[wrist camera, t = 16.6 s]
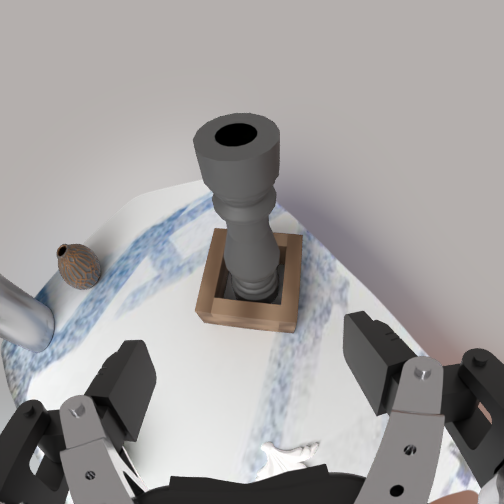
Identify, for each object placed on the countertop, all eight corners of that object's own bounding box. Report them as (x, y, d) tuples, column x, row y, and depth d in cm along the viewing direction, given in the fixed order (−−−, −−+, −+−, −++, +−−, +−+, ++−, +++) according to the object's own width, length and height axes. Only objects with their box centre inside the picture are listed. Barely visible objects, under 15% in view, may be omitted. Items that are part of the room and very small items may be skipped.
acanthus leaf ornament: (316, 442, 27) (319, 444, 25) (309, 487, 24) (312, 491, 22) (257, 439, 28) (256, 441, 26) (250, 484, 24) (249, 489, 23)
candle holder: (283, 275, 39) (293, 117, 17) (271, 315, 36) (268, 172, 14) (242, 264, 40) (213, 108, 19) (227, 302, 37) (171, 158, 16)
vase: (90, 302, 38) (58, 279, 31) (70, 283, 40) (40, 258, 33) (113, 269, 41) (86, 241, 34) (91, 253, 43) (65, 225, 36)
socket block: (204, 322, 36) (194, 310, 32) (220, 247, 42) (214, 228, 38) (293, 333, 34) (296, 322, 30) (299, 254, 40) (302, 234, 36)
